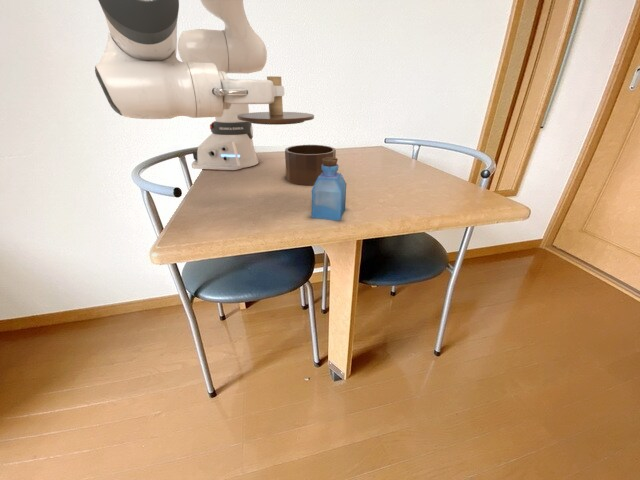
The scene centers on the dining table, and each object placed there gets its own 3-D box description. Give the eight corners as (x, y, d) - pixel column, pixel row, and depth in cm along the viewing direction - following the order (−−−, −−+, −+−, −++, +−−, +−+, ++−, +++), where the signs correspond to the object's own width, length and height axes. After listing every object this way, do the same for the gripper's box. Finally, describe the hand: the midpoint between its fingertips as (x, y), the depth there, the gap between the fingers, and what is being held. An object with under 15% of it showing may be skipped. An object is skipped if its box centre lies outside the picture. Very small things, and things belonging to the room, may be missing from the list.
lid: (221, 123, 58) (214, 75, 55) (265, 116, 71) (262, 77, 67) (291, 127, 53) (289, 75, 49) (325, 119, 66) (326, 77, 62)
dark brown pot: (285, 185, 83) (284, 155, 79) (287, 171, 96) (286, 144, 92) (337, 185, 84) (338, 154, 80) (332, 171, 97) (332, 144, 93)
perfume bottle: (345, 209, 68) (347, 156, 62) (340, 220, 62) (342, 163, 57) (318, 207, 69) (319, 155, 63) (311, 217, 64) (311, 161, 58)
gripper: (217, 69, 44) (300, 71, 50) (195, 72, 60) (260, 73, 66) (223, 114, 47) (301, 111, 53) (201, 106, 63) (263, 104, 69)
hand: (278, 90), depth 60 cm, fingers closed on lid, 3 cm apart
